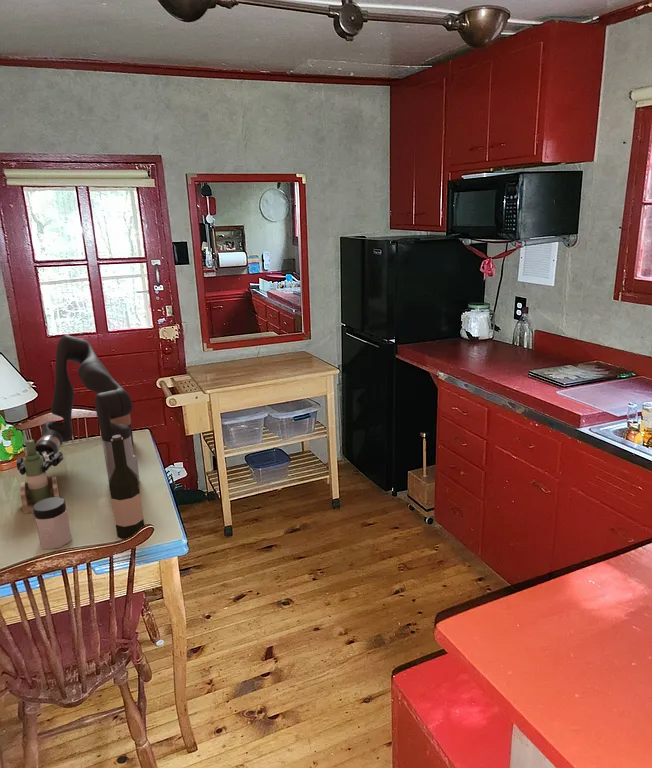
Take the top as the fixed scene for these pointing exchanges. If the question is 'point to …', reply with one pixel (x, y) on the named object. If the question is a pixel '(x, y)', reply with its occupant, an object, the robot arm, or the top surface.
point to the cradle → (26, 496)
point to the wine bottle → (124, 493)
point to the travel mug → (124, 422)
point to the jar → (52, 523)
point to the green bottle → (35, 473)
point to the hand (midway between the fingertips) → (32, 470)
